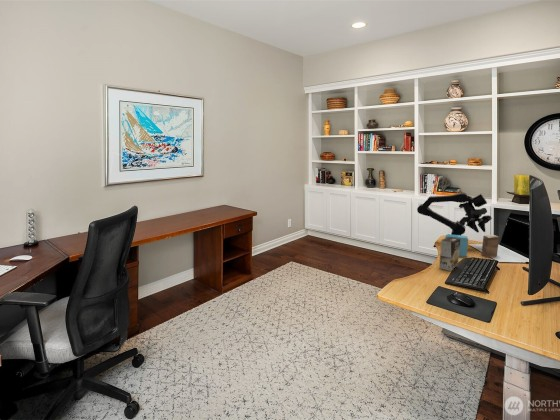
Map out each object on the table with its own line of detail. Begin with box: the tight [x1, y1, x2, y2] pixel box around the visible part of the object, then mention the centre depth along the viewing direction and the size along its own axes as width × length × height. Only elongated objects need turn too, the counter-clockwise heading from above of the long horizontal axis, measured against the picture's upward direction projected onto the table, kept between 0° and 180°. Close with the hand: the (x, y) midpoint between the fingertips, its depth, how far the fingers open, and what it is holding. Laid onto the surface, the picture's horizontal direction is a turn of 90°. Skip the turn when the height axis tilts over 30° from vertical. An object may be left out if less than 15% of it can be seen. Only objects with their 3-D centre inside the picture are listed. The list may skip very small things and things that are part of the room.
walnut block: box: [481, 234, 500, 258], centre depth 200 cm, size 4×7×12 cm, turn 101°
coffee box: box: [438, 237, 460, 272], centre depth 183 cm, size 9×6×16 cm
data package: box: [444, 234, 469, 258], centre depth 203 cm, size 12×4×12 cm, turn 64°
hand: (481, 232), depth 206 cm, fingers open, 4 cm apart
